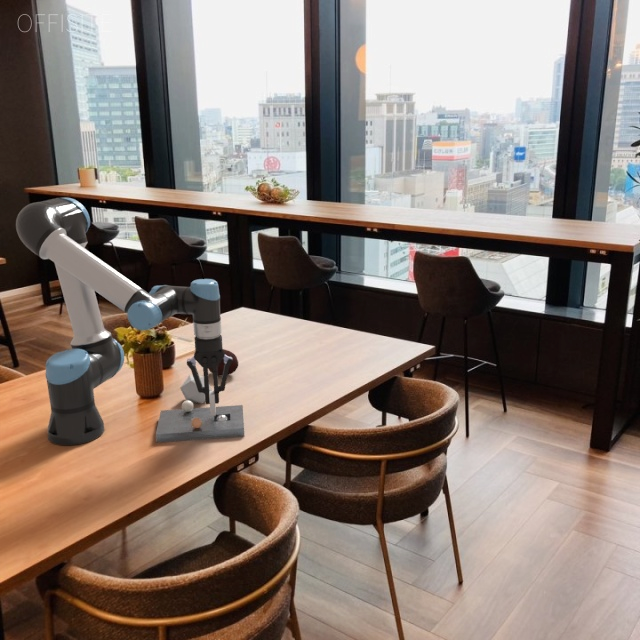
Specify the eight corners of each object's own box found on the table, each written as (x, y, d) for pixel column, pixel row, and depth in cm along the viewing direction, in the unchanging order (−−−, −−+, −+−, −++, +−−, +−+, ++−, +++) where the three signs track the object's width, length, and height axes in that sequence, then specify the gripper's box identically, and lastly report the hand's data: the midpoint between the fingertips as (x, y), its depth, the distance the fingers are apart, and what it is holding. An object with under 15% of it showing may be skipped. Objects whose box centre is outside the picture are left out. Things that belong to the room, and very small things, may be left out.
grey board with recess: (156, 442, 190) (155, 434, 189) (161, 418, 205) (160, 410, 204) (244, 436, 192) (244, 428, 192) (242, 412, 208) (242, 405, 207)
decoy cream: (181, 414, 201) (180, 403, 200) (182, 409, 205) (181, 398, 204) (193, 413, 202) (192, 402, 201) (194, 408, 205) (193, 398, 204)
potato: (215, 368, 244) (213, 343, 241) (244, 373, 239) (243, 347, 237) (201, 377, 236) (199, 351, 234) (231, 382, 232) (229, 355, 229)
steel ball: (219, 415, 196) (229, 420, 197) (219, 411, 199) (230, 415, 200) (213, 425, 197) (224, 430, 198) (214, 420, 200) (224, 425, 201)
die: (217, 399, 220) (204, 370, 222) (213, 395, 211) (200, 366, 213) (192, 410, 219) (179, 382, 221) (187, 408, 210) (174, 378, 212)
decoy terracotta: (191, 430, 191) (190, 420, 190) (191, 426, 194) (190, 416, 193) (202, 430, 191) (201, 420, 190) (202, 425, 194) (201, 415, 193)
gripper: (183, 340, 187) (189, 420, 194) (231, 338, 188) (236, 417, 195) (184, 332, 194) (190, 410, 201) (231, 330, 196) (235, 406, 202)
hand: (213, 413), depth 198 cm, fingers closed
